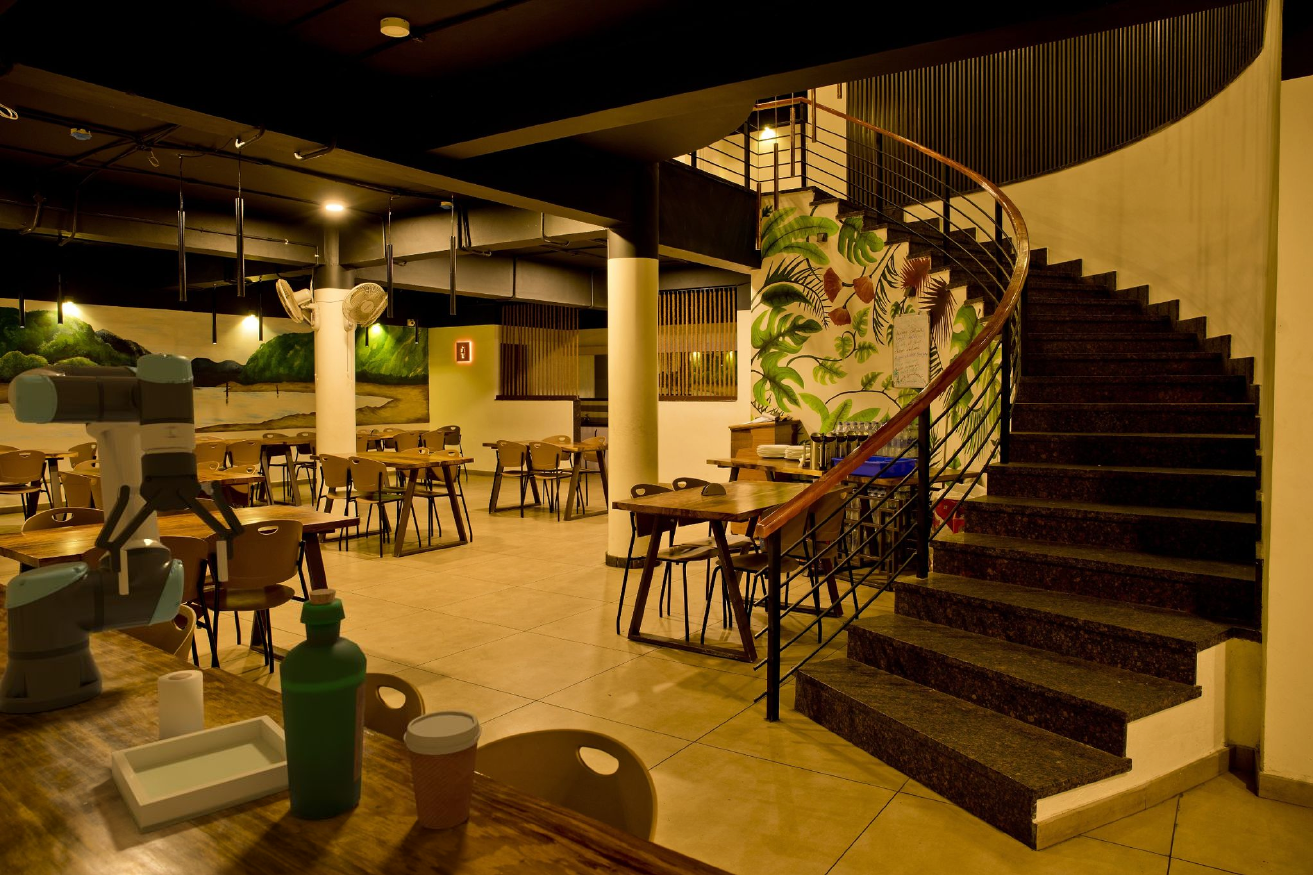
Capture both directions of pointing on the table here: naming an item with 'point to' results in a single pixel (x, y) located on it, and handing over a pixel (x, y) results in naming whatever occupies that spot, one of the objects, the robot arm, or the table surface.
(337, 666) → the bottle
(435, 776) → the disposable coffee cup
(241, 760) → the rectangular tray
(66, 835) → the table surface
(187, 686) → the kitchen roll
